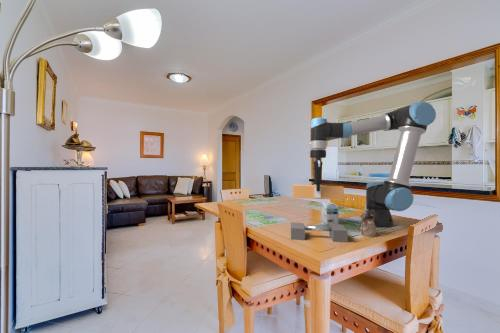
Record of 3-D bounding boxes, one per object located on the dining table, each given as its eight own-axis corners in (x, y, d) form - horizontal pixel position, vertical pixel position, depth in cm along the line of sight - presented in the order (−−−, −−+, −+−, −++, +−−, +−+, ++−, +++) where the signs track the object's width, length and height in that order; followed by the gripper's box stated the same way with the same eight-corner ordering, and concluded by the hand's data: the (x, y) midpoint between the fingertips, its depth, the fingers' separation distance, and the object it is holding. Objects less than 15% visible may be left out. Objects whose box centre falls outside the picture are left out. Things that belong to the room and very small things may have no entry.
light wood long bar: (341, 198, 119) (341, 186, 119) (343, 199, 114) (343, 187, 114) (292, 196, 123) (292, 184, 123) (292, 197, 118) (292, 185, 118)
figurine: (359, 231, 119) (360, 207, 118) (375, 233, 115) (376, 208, 115) (358, 235, 112) (359, 210, 112) (376, 237, 109) (376, 211, 109)
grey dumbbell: (342, 235, 113) (342, 224, 113) (347, 242, 103) (347, 230, 103) (290, 232, 117) (290, 222, 116) (291, 239, 107) (291, 228, 107)
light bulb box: (339, 225, 130) (339, 205, 130) (326, 225, 131) (326, 205, 130) (332, 220, 141) (332, 202, 141) (321, 220, 141) (321, 201, 141)
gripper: (309, 150, 128) (308, 194, 128) (311, 148, 110) (310, 199, 111) (324, 150, 126) (323, 194, 127) (328, 148, 109) (327, 200, 109)
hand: (317, 196), depth 119 cm, fingers closed on light wood long bar, 5 cm apart
